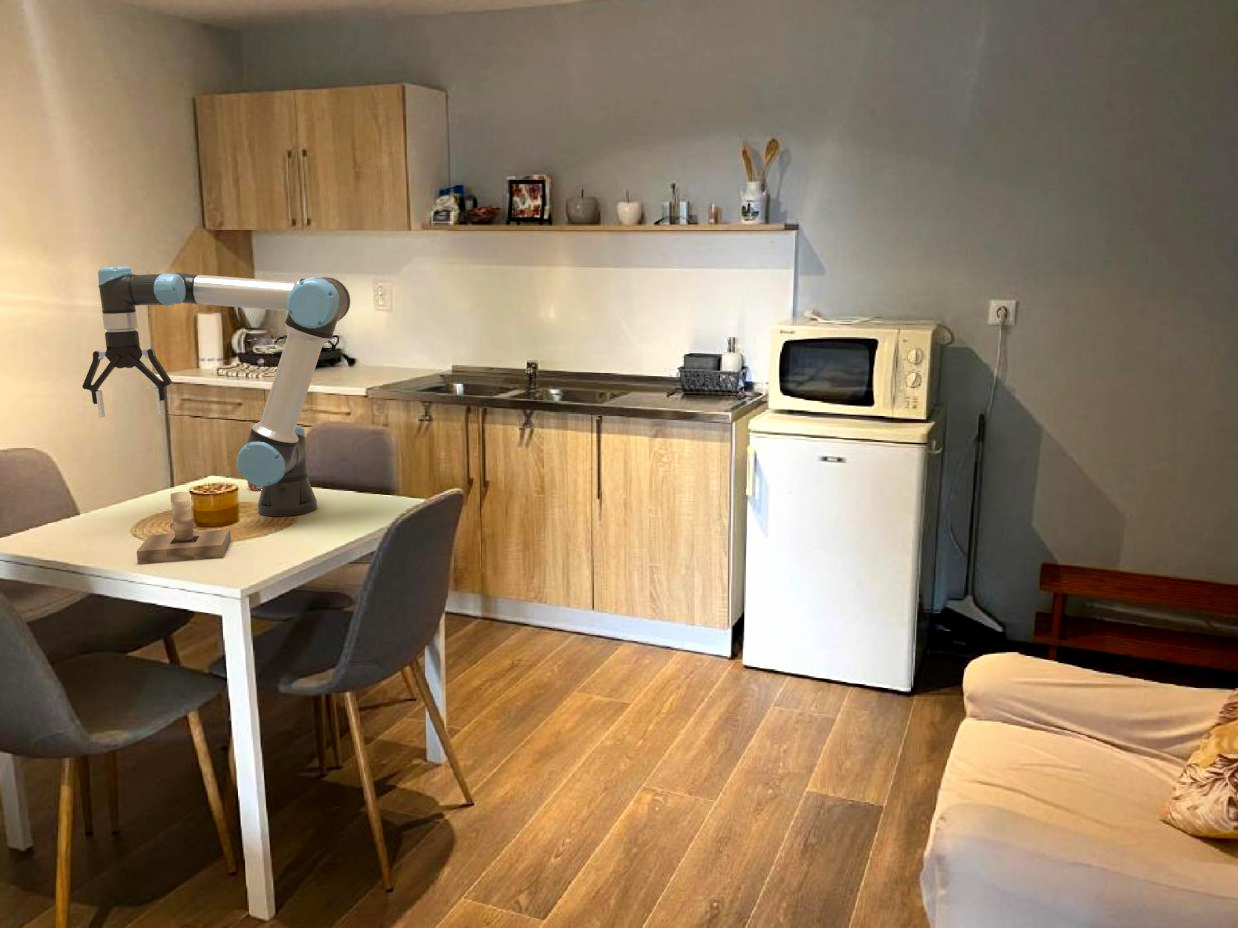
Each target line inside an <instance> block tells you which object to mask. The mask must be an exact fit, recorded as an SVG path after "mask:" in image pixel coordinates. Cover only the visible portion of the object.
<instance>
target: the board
mask: <svg viewBox="0 0 1238 928" xmlns="http://www.w3.org/2000/svg"><path fill="white" fill-rule="evenodd" d="M193 535H194V542H191V543H178V544H176V543H175V534H174V532H173V533H163V534H162V533H160V534H159V533H158V534H149V535H148V536H147V537H146V539H145V540H144V541H143V542H142V543H141V545H140V546H139V548H138V549H137V550H136V558H137V565H142V564H143V565H144V564H158V563H159V564H160V563H169V562H170V563H171V562H183V561H197V560H211V559H221V558H222V559H223V558H224V556H225V555H226V553H227V550H228V548H229V546H230V544H231V542H232V540H231V539H232V538H231V529H217V530H216V529H215V530H204V531H203V530H202V531H193Z"/></svg>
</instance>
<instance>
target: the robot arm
mask: <svg viewBox="0 0 1238 928" xmlns="http://www.w3.org/2000/svg"><path fill="white" fill-rule="evenodd" d="M97 274H98V275H97V276H98V278H97V279H98V286H97V287H98V289H99V290H98V291H99V297H100V302H101V312H102V321H103V329H104V330H106V331H105V333H104V337H105V338H104V339H105V347H106V350H105V351H100V350H95V351H93V352H92V362H91V364H90V366H89V370H88V371H87V373H86V375H85V379H84V382H83V384H82V389H83V390H88V391H90V392H91V397H92V398H91V399H92V404H93V405H97V411H98V412H97V413H98V418H104V417H106V414H105V405H104V398H103V397H104V395H103V391H102V390H101V389H100V387H101V386H102V385H103V384H104V382H105V381H106V379H107V378H108V377H109V375H111V373H112V372H113V371H114V369H125V368H126V369H131V368H134V367H135V368H136V369H137V370H139V371H140V372H141V373H142V374H143V375H144V376H145V377H146V378H148V379H149V381H150V382H152V383H153V384H154V385H155V386H156V387H155V388H154V393H155V394H154V395H155V402H156V410H157V411H156V412H157V413H156V414H157V415H162V414H164V413H163V412H164V410H163V401H166V389H165V388H166V387H167V386H170V385H171V384H172V382H173V381H172V379H171V378H170V376H169V374H168V373H167V371H166V370H165V369H164V366H162V364H161V363H160V360H159V359H158V358H157V356H156V352H155V349H154V348H152V347H151V348H149V349H143V350H142V349H141V344H140V338H139V337H140V336H139V335H140V334H139V331H138V330H137V328H138V320H137V309H136V306H167V307H168V306H175V305H180V304H191V305H193V304H194V305H206V306H207V305H208V306H220V307H221V306H222V307H233V308H245V309H257V310H258V309H259V310H269V311H270V310H271V311H283V312H287V316H286V318H285V322H284V325H285V327H286V330H287V331H288V333H287V336H286V340H285V343H284V345H283V349H282V352H281V356H280V359H279V362H278V365H277V368H276V371H275V374H274V378H273V381H272V384H271V387H270V390H269V393H268V396H267V399H266V403H265V406H264V409H263V412H262V416H261V418H260V421H258V422H256V423H253V425H251V426H252V427H251V428H250V432H249V435H248V437H247V440H246V444H244V445H243V446H242V448H240V451H239V452H238V454H237V458H236V466H237V469H238V470H237V471H238V472H239V473H240V475H241V477H242V478H243V479H244V480H246V481H248V482H250V483H252V484H254V485H258V486H262V490H260V495H259V499H258V504H257V510H258V511H257V512H258V514H260V515H262V516H265V517H266V516H267V517H290V516H296V515H297V516H298V515H304V514H308V513H311V512H313V511H315V510H316V509H317V508H318V501H317V497H316V496H315V493H314V490H313V488H312V486H311V483H310V481H309V474H308V459H307V458H308V457H307V445H306V440H307V438H306V437H307V436H306V435H305V429H304V428H303V426H301V425H298V422H299V419H300V416H301V413H302V410H303V406H304V403H305V400H306V399H307V395H308V393H309V392H308V391H309V388H310V386H311V383H312V379H313V376H314V374H315V370H316V366H317V364H318V360H319V359H320V358H319V357H320V354H321V351H322V348H323V345H324V344H325V343H327V342H330V341H331V340H332V338H333V336H334V332H335V330H336V329H335V328H337V327H336V326H337V324H338V322H339V321H341V320H342V319H343V318H344V317H345V316H346V315H347V314H348V312H349V310H350V307H351V296H350V292H349V290H348V289H347V287H346V285H344V283H342V282H341V281H339V280H338V279H335V278H333V277H328V276H327V277H326V276H325V277H324V276H322V277H307V278H299V279H298V280H297V281H286V280H272V279H261V278H259V279H258V278H248V277H234V276H221V275H205V274H193V273H188V272H175V273H169V272H167V273H153V274H152V273H151V274H150V273H149V274H134V273H133V272H132V269H131V267H129V266H105V267H104V266H103V267H100V268H99V269H98V270H97ZM143 356H144V357H145V358H147V359H148V360H149V361H150V363H151V365H152V366H153V367H154V369H155V371H156V372H157V374H158V375H159V377H160V378H159V377H158V376H157V374H155V373H154V372H153V371H152V370H150V368H148V367H147V366H146V365H145V363H144V362H143V361H141V358H142V357H143ZM104 357H105V358H106V359H107V360H108V361H109V363H108V364H107V365H106V367H105V368H104V370H103V371H102V373H101V374H100V375H99V376H98V378H97V379H96V380H95V382H94V383H93V380H94V378H95V375H96V373H97V371H98V367H99V365H100V363H101V361H102V360H103V359H104ZM161 379H162V380H161ZM92 383H93V384H92ZM99 389H100V390H99ZM248 482H247V483H248Z"/></svg>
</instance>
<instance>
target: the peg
mask: <svg viewBox="0 0 1238 928" xmlns="http://www.w3.org/2000/svg"><path fill="white" fill-rule="evenodd" d="M169 495H170V503H171V513H172V521H173V522H172V523H173V530H174V531H173V533H174V534H175V543H176V544H178V543H191V542H194V535H193V532H194V528H193V527H194V526H193V518H192V517H193V516H192V507H191V498H190V497H191V496H190V492H188V491H178V492H172V493H170V494H169Z"/></svg>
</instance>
